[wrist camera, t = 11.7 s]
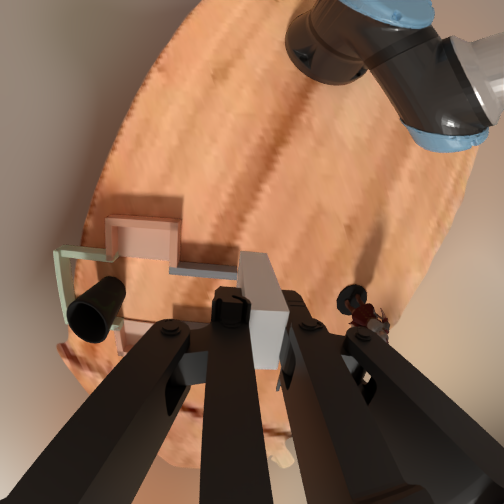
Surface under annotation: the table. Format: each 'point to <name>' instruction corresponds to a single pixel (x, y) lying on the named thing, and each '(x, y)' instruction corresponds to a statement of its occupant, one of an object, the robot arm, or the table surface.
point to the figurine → (362, 311)
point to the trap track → (137, 246)
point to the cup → (96, 310)
